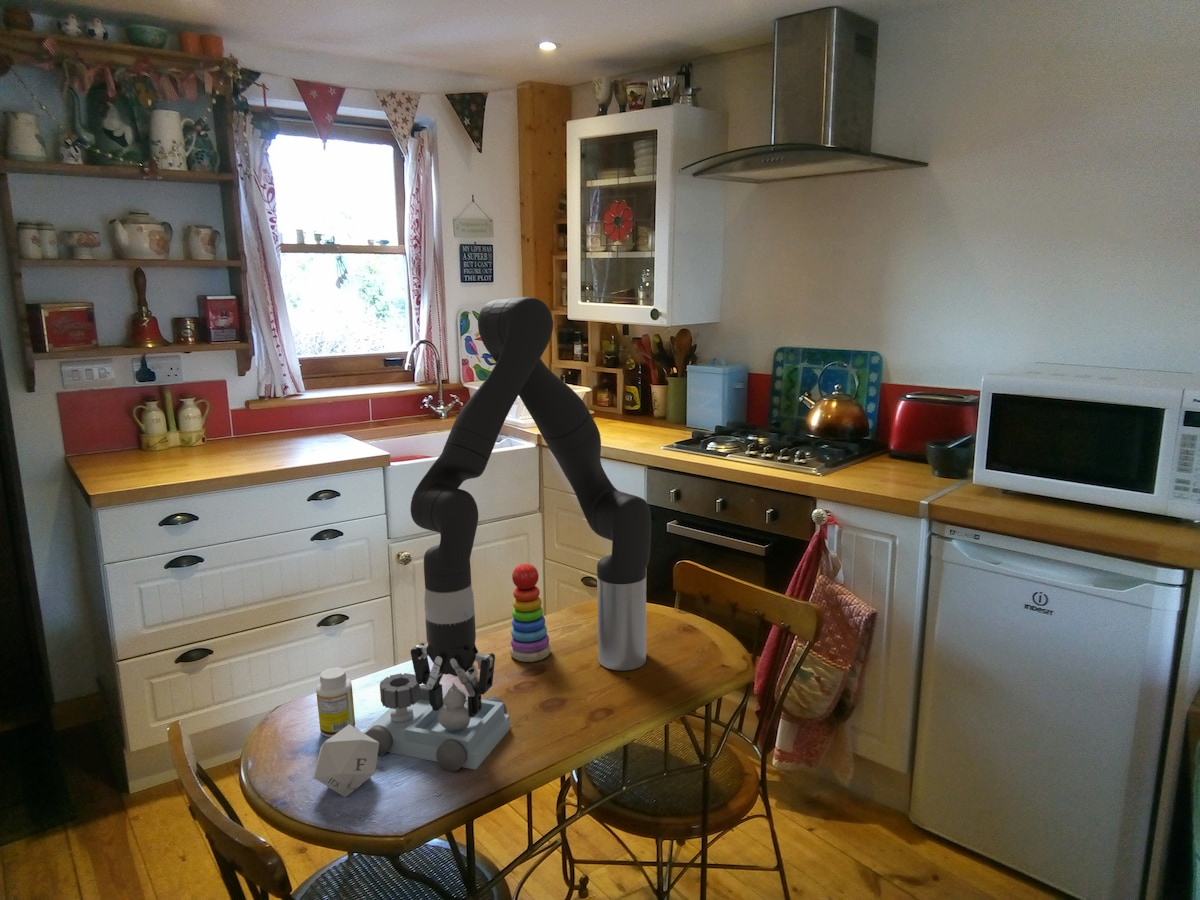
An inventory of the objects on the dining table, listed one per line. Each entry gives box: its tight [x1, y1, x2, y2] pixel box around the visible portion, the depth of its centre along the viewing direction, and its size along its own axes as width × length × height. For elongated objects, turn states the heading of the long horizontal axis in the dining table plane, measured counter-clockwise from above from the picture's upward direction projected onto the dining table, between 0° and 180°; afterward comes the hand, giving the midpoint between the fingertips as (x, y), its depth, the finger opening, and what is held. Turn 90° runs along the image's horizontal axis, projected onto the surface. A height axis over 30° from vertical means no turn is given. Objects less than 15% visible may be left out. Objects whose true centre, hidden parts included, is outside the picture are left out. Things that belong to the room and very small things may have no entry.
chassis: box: [362, 684, 511, 773], centre depth 131 cm, size 15×20×6 cm
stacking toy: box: [509, 563, 552, 663], centre depth 159 cm, size 8×8×19 cm
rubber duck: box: [438, 682, 473, 731], centre depth 129 cm, size 5×7×8 cm
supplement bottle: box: [315, 667, 356, 738], centre depth 134 cm, size 6×6×10 cm
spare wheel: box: [379, 672, 421, 709], centre depth 133 cm, size 6×6×3 cm
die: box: [313, 724, 379, 798], centre depth 119 cm, size 8×9×10 cm
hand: (455, 711), depth 130 cm, fingers open, 6 cm apart
